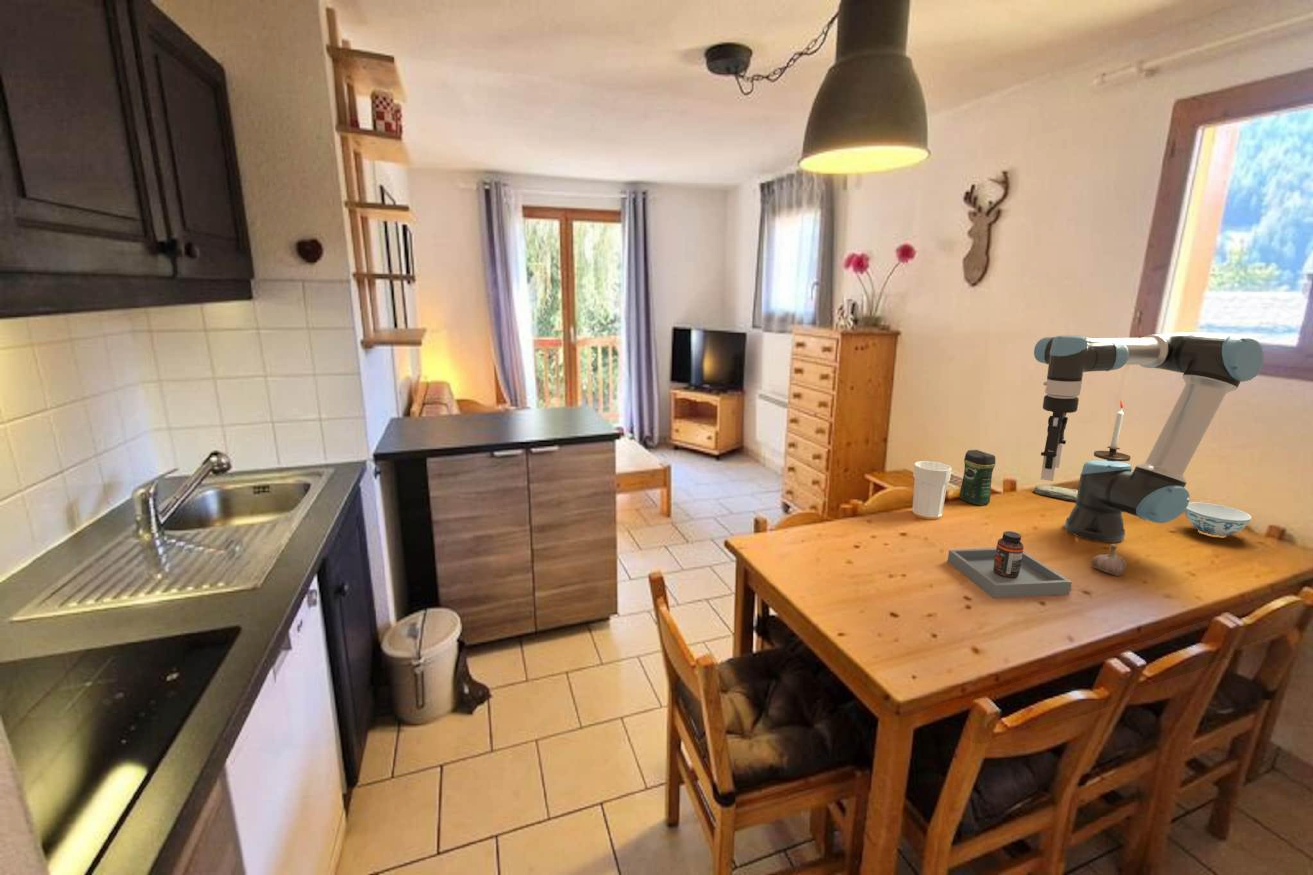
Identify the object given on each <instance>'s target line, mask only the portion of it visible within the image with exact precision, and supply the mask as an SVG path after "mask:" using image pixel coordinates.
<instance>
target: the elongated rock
mask: <svg viewBox="0 0 1313 875" xmlns="http://www.w3.org/2000/svg"><path fill="white" fill-rule="evenodd" d="M1033 491H1034V493H1035V494H1036V495H1039V496H1047V497H1049V498H1056V499H1059V500H1060V499H1061V500H1064V501H1067V502H1068V501H1071V502H1074V503H1076V500H1077V493H1078V489H1075V488H1074V489H1073V488H1067V487H1061V486H1053V485H1051V484H1050V485H1048V484H1038V485H1035V487H1034V490H1033Z"/></svg>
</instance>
